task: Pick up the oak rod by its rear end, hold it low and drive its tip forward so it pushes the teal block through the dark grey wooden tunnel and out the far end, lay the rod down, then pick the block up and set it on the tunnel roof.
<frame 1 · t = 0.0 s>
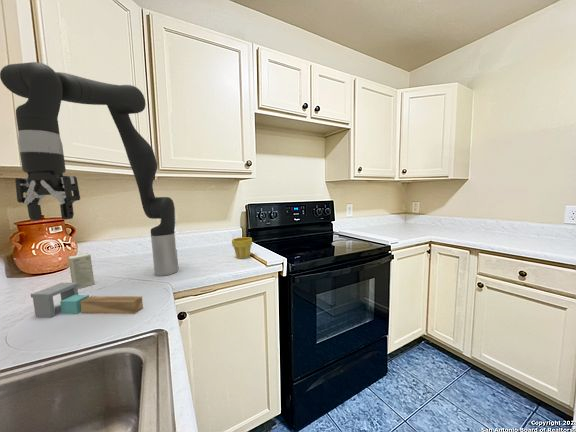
hand: (51, 219, 61), 29 cm above the countertop, tool pointing down, fingers open, 8 cm apart
skincare box: (83, 286, 96), on the countertop
tunnel: (58, 309, 76), on the countertop
block: (76, 310, 76), on the countertop
plant pot: (243, 257, 130), on the countertop
rod: (112, 311, 75), on the countertop
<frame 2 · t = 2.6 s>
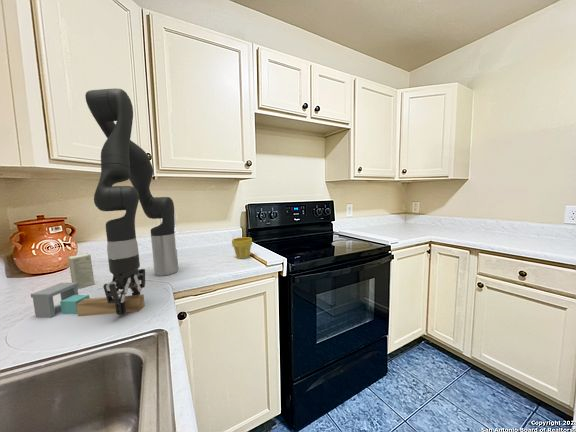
hand: (129, 308, 74), 1 cm above the countertop, tool pointing down, fingers open, 5 cm apart
rod: (112, 311, 74), on the countertop, touching gripper
everything else where it was.
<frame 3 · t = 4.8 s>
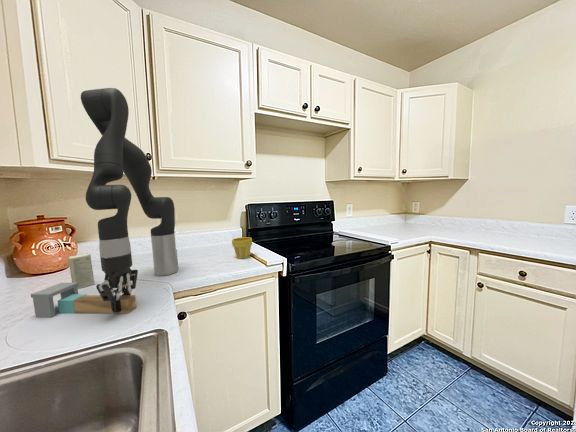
hand: (122, 308, 74), 1 cm above the countertop, tool pointing down, fingers closed on rod, 3 cm apart
block: (73, 309, 76), on the countertop, touching rod
rod: (106, 310, 75), on the countertop, touching block, gripper
everything else where it was.
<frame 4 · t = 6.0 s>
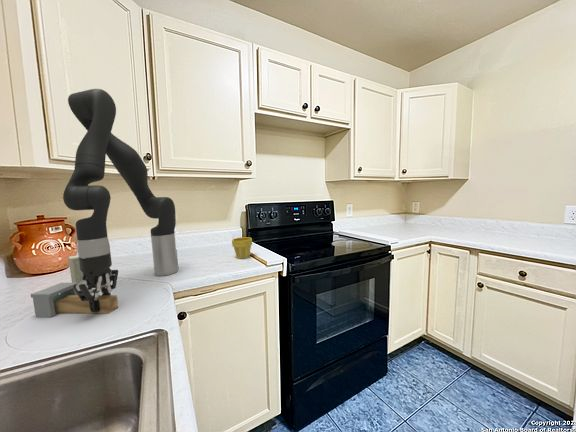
hand: (101, 308, 75), 1 cm above the countertop, tool pointing down, fingers closed on rod, 3 cm apart
block: (56, 309, 77), on the countertop, touching rod
rod: (87, 310, 75), on the countertop, touching block, gripper
everything else where it was.
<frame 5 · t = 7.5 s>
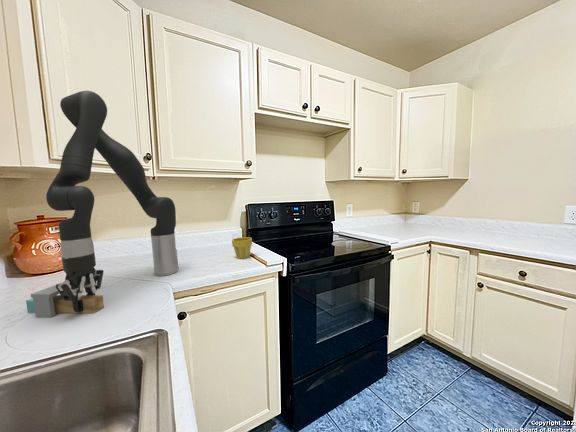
hand: (85, 308, 75), 1 cm above the countertop, tool pointing down, fingers closed on rod, 3 cm apart
block: (43, 309, 77), on the countertop
rod: (73, 310, 76), on the countertop, touching gripper
everything else where it was.
when the fingers open (1 cm above the countertop, at t = 9.7 s): rod stays where it is, on the countertop.
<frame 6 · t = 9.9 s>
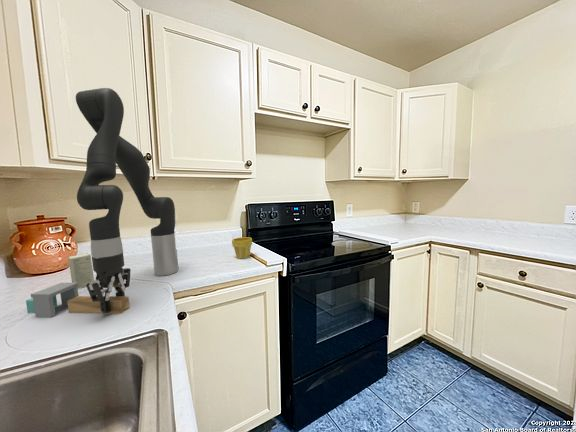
hand: (114, 307, 74), 1 cm above the countertop, tool pointing down, fingers open, 5 cm apart
rod: (99, 311, 75), on the countertop
everything else where it was.
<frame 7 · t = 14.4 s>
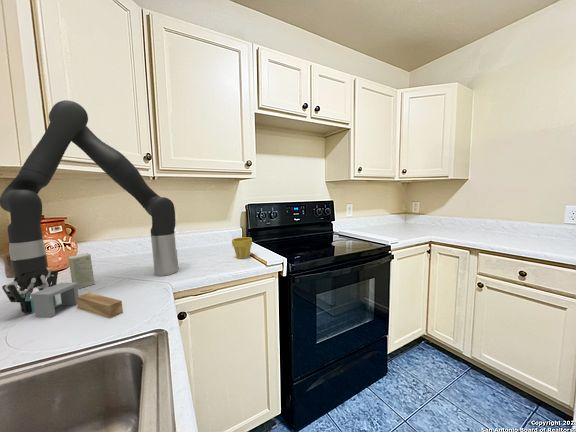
hand: (37, 308, 77), 0 cm above the countertop, tool pointing down, fingers closed on block, 4 cm apart
block: (41, 309, 77), on the countertop, touching gripper
when the fingers open (9 cm above the countertop, at t = 18.2 s): block drops 1 cm, resting on tunnel.
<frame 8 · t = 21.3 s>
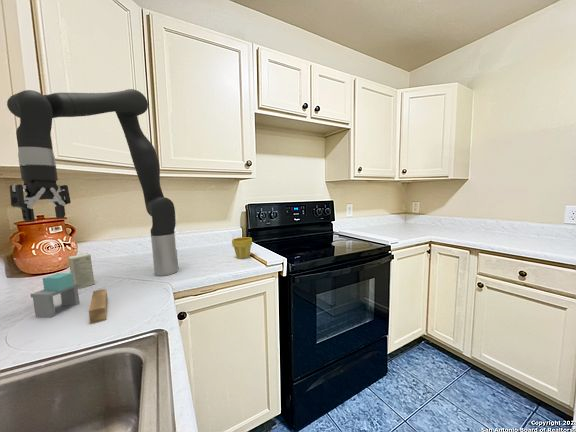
hand: (46, 220, 73), 28 cm above the countertop, tool pointing down, fingers open, 8 cm apart
block: (59, 288, 75), point 7 cm above the countertop, touching tunnel
at the end: block inside the target area on the tunnel (1.3 cm from its centre), point 7.0 cm above the tunnel's base; the gripper is holding nothing; rod moved 4.3 cm from its start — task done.
